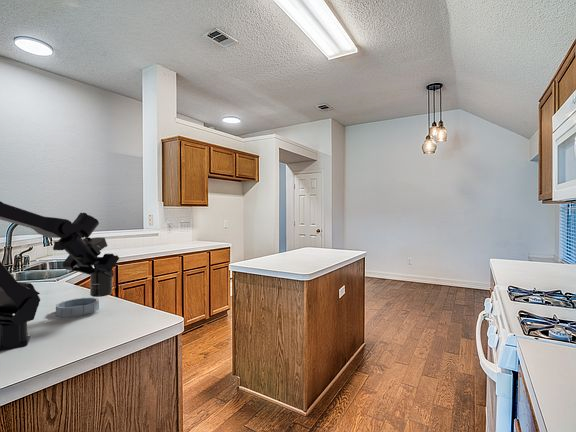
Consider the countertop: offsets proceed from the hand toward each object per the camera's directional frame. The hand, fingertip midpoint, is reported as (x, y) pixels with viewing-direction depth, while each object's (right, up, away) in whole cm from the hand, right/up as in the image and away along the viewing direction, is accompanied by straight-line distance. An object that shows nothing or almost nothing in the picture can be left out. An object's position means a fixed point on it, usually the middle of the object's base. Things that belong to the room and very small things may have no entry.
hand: (104, 275), depth 113 cm
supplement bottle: (0, -7, -1) cm, 7 cm away
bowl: (-8, -12, -2) cm, 15 cm away
